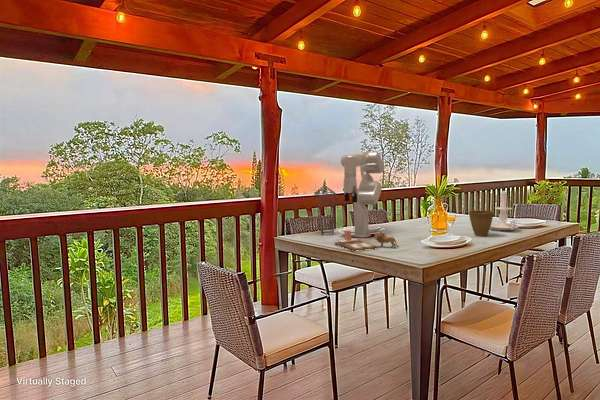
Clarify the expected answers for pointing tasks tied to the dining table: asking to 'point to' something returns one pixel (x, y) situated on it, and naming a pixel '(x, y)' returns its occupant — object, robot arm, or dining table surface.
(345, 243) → the ticket board
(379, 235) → the lion figurine
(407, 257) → the dining table surface
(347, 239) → the stub
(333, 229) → the geometric lantern
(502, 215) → the candlestick
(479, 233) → the plant pot
